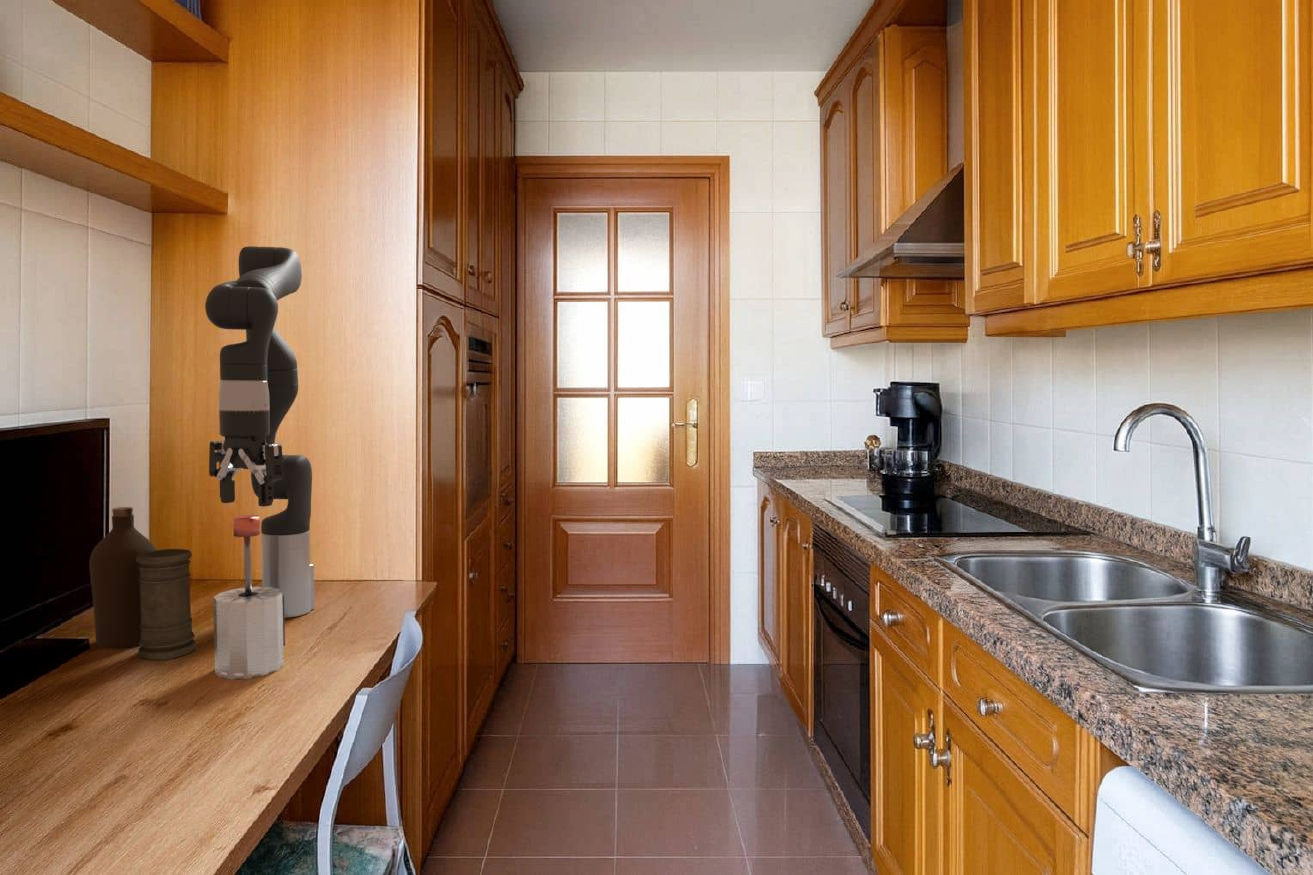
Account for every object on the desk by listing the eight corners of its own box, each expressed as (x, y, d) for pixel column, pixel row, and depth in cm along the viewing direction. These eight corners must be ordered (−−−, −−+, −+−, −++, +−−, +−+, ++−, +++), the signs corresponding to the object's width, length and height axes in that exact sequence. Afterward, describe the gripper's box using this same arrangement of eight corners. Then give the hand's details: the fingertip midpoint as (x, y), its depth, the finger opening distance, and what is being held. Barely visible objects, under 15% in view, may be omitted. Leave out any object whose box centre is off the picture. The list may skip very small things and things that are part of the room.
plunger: (250, 608, 142) (248, 512, 141) (281, 613, 140) (280, 515, 138) (214, 619, 136) (212, 518, 134) (246, 624, 133) (244, 522, 132)
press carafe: (260, 652, 146) (258, 582, 146) (303, 660, 143) (302, 588, 142) (201, 673, 136) (199, 598, 135) (246, 683, 132) (245, 605, 131)
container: (169, 662, 141) (166, 560, 139) (125, 658, 142) (121, 556, 141) (207, 646, 149) (205, 549, 148) (165, 642, 151) (163, 546, 150)
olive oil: (87, 653, 144) (82, 514, 142) (97, 636, 154) (93, 505, 152) (156, 646, 149) (152, 510, 147) (163, 629, 158) (159, 502, 157)
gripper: (294, 408, 136) (296, 504, 137) (232, 406, 141) (234, 498, 143) (257, 409, 129) (259, 510, 130) (193, 407, 134) (196, 504, 136)
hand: (246, 504), depth 136 cm, fingers open, 8 cm apart
